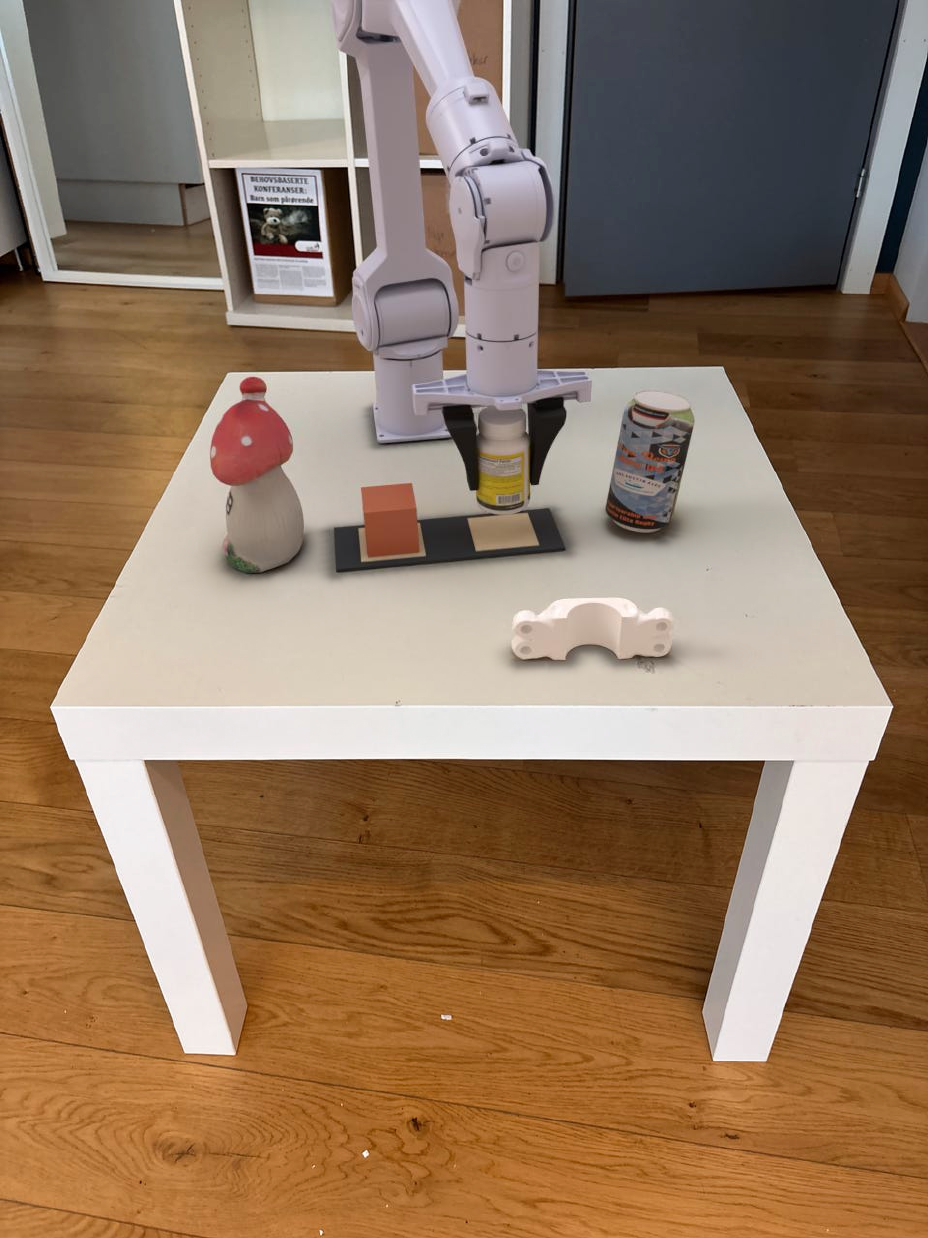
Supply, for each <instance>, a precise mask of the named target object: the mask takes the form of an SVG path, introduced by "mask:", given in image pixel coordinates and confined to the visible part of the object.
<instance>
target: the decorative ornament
mask: <svg viewBox="0 0 928 1238" xmlns="http://www.w3.org/2000/svg"><path fill="white" fill-rule="evenodd" d="M267 389H268V388H267V384H266V382H265V380H263V379H262V378H261V377H258V376H249V377H246V378H245V379H243V380H242V381H241V382H240V383H239V391H240V393H241V396H242V398H241V400H240V401H239V402H237V403H234V404H233V405H231V406H230V407H229V408H228V409H227V410H226V411H225V412H224V414H222V416H221V417H220V418H219V420H218V422H217V423H216V427H215V429H214V432H213V434H212V436H211V437H212V438H211V442H210V449H209V450H210V451H209V460H210V462H209V463H210V469H211V471H212V475H213V476H214V477H215V479H217V480H218V481H219V482H220V483H222V484H224V485H226V486H230V489H229V492H228V495H227V497H226V503H225V524H226V525H225V526H226V532H227V535H226V536H225V538H224V539H223V541H222V552H223V556H224V557H225V559H226V561H227V562H228V563H229V564H230V565H231V567H232V568H234V569H236V570H238V571H241V572H243V573H246V574H257V573H259V574H260V573H263V572H265V571H268V570H271V569H275V568H277V567H280V566H282V565H285V564H288V563H289V562H290V561H291V560H292V559H293V558H294V557H295V556H296V555H297V554H298V552H299V551H300V549H301V547H302V545H303V540H304V534H305V519H304V512H303V507H302V504H301V500H300V498H299V495H298V493H297V490H296V489H295V487H294V484H293V483H292V481H291V480H290V478H289V477H288V476H287V474H286V472H284V470H283V468H282V466H283V465H284V464H286V463H287V462H289V460H290V458H291V457H292V455H293V452H294V441H293V440H294V439H293V436H292V433H291V430H290V428H289V426H288V425H287V423H286V422H285V420H284V418H282V417H281V415H280V414H279V413H278V412H277V411H276V410H275V409H274V408H273V407H272V406H271V405H270V404H269V403H268V402H267V401H266V398H265V396H266V393H267Z"/></svg>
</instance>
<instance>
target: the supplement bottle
mask: <svg viewBox="0 0 928 1238" xmlns="http://www.w3.org/2000/svg"><path fill="white" fill-rule="evenodd" d="M477 431H478V432H477V438H476V465H477V474H478V490H476V491H475V496H476V497H475V499H476V504H477V506H478V507H479V508H480V509H481V510H482V511H484V512H486V513H488V514H489V513H493V514H498V515H509V514H514V513H517V512H520V511H522V510H526V508H527V507H528V506H529V504H530V501H531V484H530V446H531V441H530V437H529V435H528V431H527V414H526V412H525V410H524V409H522V408H520V409H514V410H498V409H497V408H496V407H495V406H490V407H483V408H482V409H481V410H480V411H479V413H478V416H477Z"/></svg>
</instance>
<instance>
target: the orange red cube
mask: <svg viewBox="0 0 928 1238" xmlns="http://www.w3.org/2000/svg"><path fill="white" fill-rule="evenodd" d="M360 493H361V503H362V515H363V521H364V524H363V525H365V534H366V544H367V554H368V557H378V556H388V555H399V554H410V553H419V538H418V523H417V520H418V509H417V503H416V497H415V492H414V487H413V483H412V482H406V483H405V482H404V483H395V484H393V483H392V484H383V485H381V484H380V485H371V486H361V487H360Z"/></svg>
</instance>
